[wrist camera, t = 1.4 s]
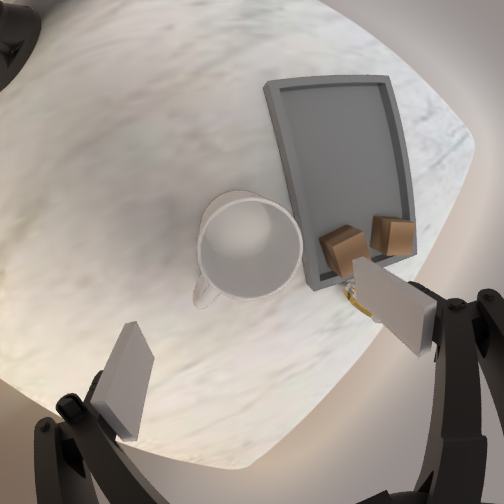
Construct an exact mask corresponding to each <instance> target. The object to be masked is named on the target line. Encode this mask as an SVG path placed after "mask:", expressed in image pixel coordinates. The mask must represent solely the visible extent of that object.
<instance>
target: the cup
mask: <svg viewBox="0 0 504 504" xmlns="http://www.w3.org/2000/svg"><path fill="white" fill-rule="evenodd" d="M302 254H303V240H302V235H301V232H300V229H299V227H298V224H297V223H296V221H295V219H294V218H293V217H292V215H291V214H290V213H289V212H288V211H287V210H286V209H284V208H283V207H282V206H280V205H279V204H277V203H275V202H273V201H270V200H268V199H266V198H263V197H261V196H259V195H256V194H254V193H251V192H247V191H231V192H227V193H224V194H222V195H220V196H218V197H217V198H216V199H214V200H213V201H212V202H211V203H210V204H209V205H208V207H207V208H206V210H205V212H204V214H203V216H202V219H201V224H200V230H199V237H198V244H197V258H198V263H199V267H200V270H201V272H202V273H201V275H200V277H199V279H198V281H197V283H196V285H195V288H194V292H193V303H194V305H195V306H196V307H197V308H199V309H205V308H207V307H208V306H210V305H211V304H212V303H213V302H214V301H215V299H216V298H217V297H218V296H219V294H220V293H221V294H223V295H225V296H227V297H230V298H232V299H236V300H242V301H253V300H259V299H263V298H267V297H269V296H271V295H273V294H275V293H277V292H278V291H280V290H281V289H283V288H284V287H285V286H286V285H287V284H288V283H289V282H290V281H291V279H292V278H293V277H294V275H295V274H296V272H297V270H298V268H299V265H300V263H301V259H302ZM208 283H209V285H208V286H207V284H208ZM206 286H207V288H206ZM205 288H206V289H205Z"/></svg>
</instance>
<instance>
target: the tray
mask: <svg viewBox="0 0 504 504" xmlns="http://www.w3.org/2000/svg"><path fill="white" fill-rule="evenodd" d="M263 90H264V93H265V97H266V101H267V104H268V108H269V112H270V116H271V120H272V123H273V127H274V131H275V135H276V139H277V143H278V148H279V152H280V156H281V160H282V164H283V169H284V173H285V177H286V182H287V186H288V191H289V195H290V200H291V205H292V209H293V214H294V219H295V221H296V223H297V224H298V227H299V229H300V232H301V235H302V240H303V254H302V260H303V265H304V271H305V276H306V282H307V284H308V286H309V287H310V288H311V289H312V290H313V291H317V290H320V289H323V288H326V287H329V286H332V285H335V284H338V283H341V282H344V281H347V280H350V279H352V278H354V273H352V274H350V275H349V276H347V277H345V278H341V277H340V276H339V275H338V274H336V273H335V272H334V271H333V270H332V269H330V268H329V267H328V264H327V261H326V258H325V256H324V253H323V250H322V247H321V244H320V241H319V237H322V236H324V235H326V234H328V233H330V232H332V231H334V230H336V229H338V228H340V227H342V226H344V225H346V224H347V225H350V226H352V227H354V228H357V229H359V230H362V231H363V232H364V235H365V239H366V242H367V246H368V250H369V254H370V258H371V261H372V262H374V263H375V264H377V265H379V266H380V267H382V268H383V267H386V266H388V265H391V264H394V263H396V262H399V261H401V260H404V259H407V258H409V257H412V256H414V255H417V237H416V219H415V207H414V196H413V188H412V180H411V172H410V166H409V159H408V153H407V148H406V142H405V137H404V132H403V128H402V123H401V119H400V114H399V110H398V106H397V102H396V99H395V95H394V91H393V88H392V85H391V81H390V78H389V76H383V75H329V76H311V77H299V78H289V79H280V80H272V81H267V83H266V84H265V86H264V87H263ZM373 216H384V217H398V218H401V219H404V220H408V221H411V222H414V223H415V231H414V238H413V245H412V252H411V255H392V256H387V255H385V254H383V253H381V252H379V251H377V250H375V249H373V248H371V247H370V239H371V231H372V221H373Z"/></svg>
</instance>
